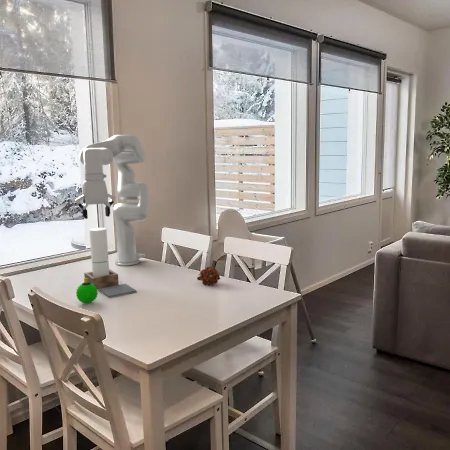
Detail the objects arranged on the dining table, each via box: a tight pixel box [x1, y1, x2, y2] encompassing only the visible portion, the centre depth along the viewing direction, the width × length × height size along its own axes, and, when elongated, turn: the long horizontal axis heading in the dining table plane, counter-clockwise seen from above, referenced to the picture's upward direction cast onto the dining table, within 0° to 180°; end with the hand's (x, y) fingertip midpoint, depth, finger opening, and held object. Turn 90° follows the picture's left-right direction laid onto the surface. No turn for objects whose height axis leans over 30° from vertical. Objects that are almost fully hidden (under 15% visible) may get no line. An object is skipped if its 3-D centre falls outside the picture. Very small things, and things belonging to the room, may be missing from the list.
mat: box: [98, 283, 137, 299], centre depth 201 cm, size 12×12×1 cm
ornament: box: [76, 277, 99, 304], centre depth 187 cm, size 8×8×10 cm
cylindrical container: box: [88, 227, 110, 278], centre depth 210 cm, size 7×7×25 cm
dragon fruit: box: [196, 266, 221, 287], centre depth 208 cm, size 8×8×12 cm
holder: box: [83, 268, 120, 290], centre depth 211 cm, size 11×11×5 cm
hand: (96, 217), depth 206 cm, fingers open, 9 cm apart
